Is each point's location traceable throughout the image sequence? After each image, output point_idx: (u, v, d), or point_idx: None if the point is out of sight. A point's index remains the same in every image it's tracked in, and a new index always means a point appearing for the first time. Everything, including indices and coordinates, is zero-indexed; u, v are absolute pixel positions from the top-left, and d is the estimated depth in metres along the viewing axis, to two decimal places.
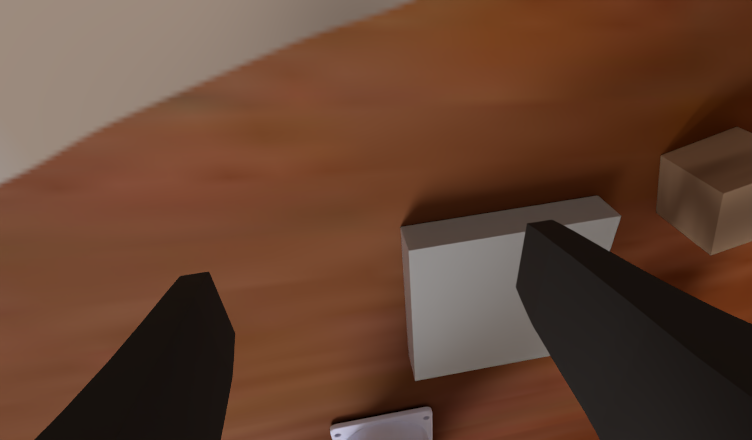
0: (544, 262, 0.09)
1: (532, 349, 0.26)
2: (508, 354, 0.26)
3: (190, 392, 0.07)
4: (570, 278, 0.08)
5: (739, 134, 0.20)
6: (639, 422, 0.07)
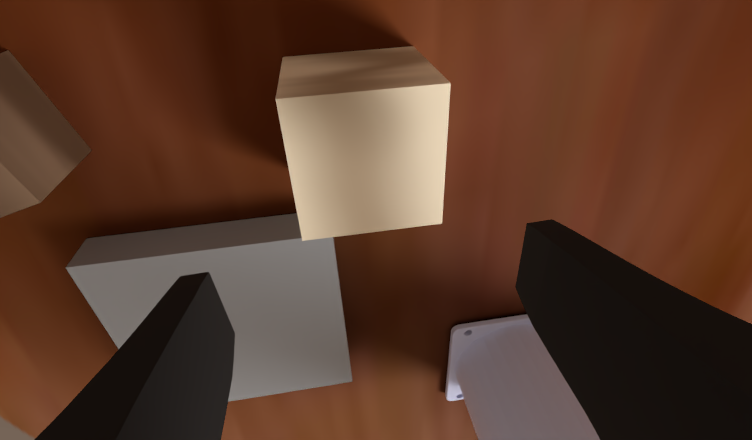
0: (544, 262, 0.09)
1: (317, 290, 0.19)
2: (323, 313, 0.20)
3: (190, 391, 0.07)
4: (570, 278, 0.08)
5: None
6: (639, 422, 0.07)
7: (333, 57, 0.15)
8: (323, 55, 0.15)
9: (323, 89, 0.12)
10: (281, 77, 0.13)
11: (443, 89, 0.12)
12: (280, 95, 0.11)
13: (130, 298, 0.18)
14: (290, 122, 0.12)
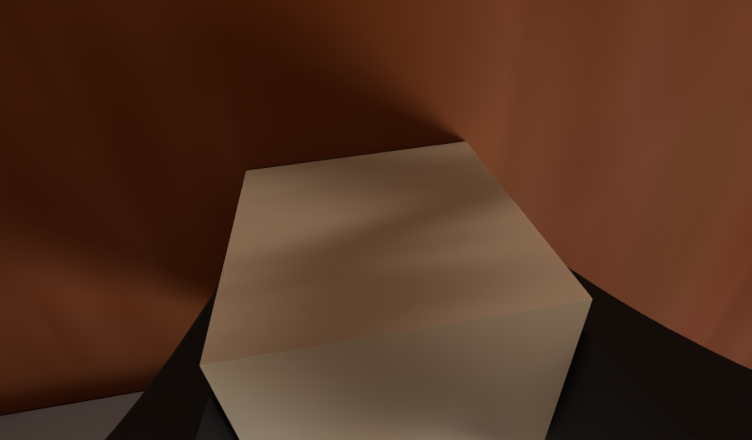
0: None
1: None
2: None
3: None
4: None
5: None
6: (579, 434, 0.06)
7: (332, 177, 0.08)
8: (315, 169, 0.09)
9: (311, 315, 0.05)
10: (231, 252, 0.07)
11: (574, 309, 0.05)
12: (214, 344, 0.05)
13: None
14: (240, 395, 0.05)
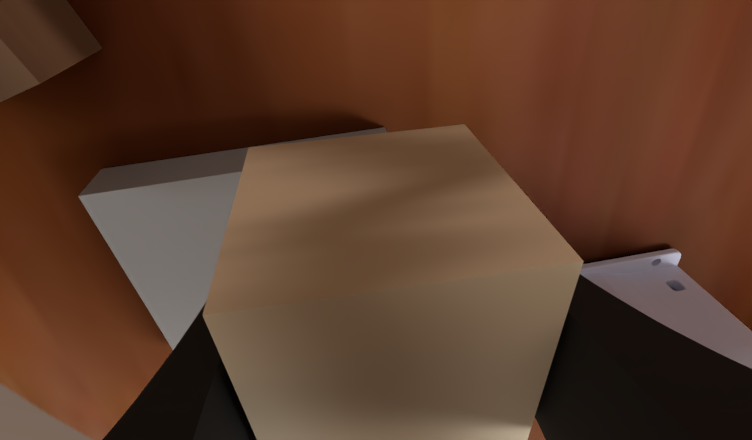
0: None
1: None
2: None
3: None
4: None
5: None
6: (580, 434, 0.06)
7: (333, 154, 0.09)
8: (316, 147, 0.09)
9: (311, 273, 0.06)
10: (233, 218, 0.07)
11: (566, 271, 0.06)
12: (217, 297, 0.05)
13: (155, 236, 0.15)
14: (241, 348, 0.05)
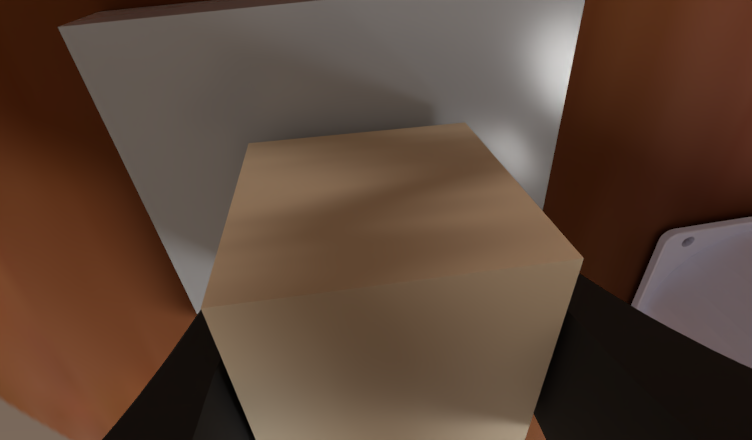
0: None
1: (523, 121, 0.11)
2: (517, 175, 0.12)
3: None
4: None
5: None
6: (581, 433, 0.06)
7: (333, 150, 0.09)
8: (316, 144, 0.09)
9: (310, 268, 0.06)
10: (232, 212, 0.07)
11: (566, 268, 0.06)
12: (215, 291, 0.05)
13: (187, 119, 0.09)
14: (239, 342, 0.05)
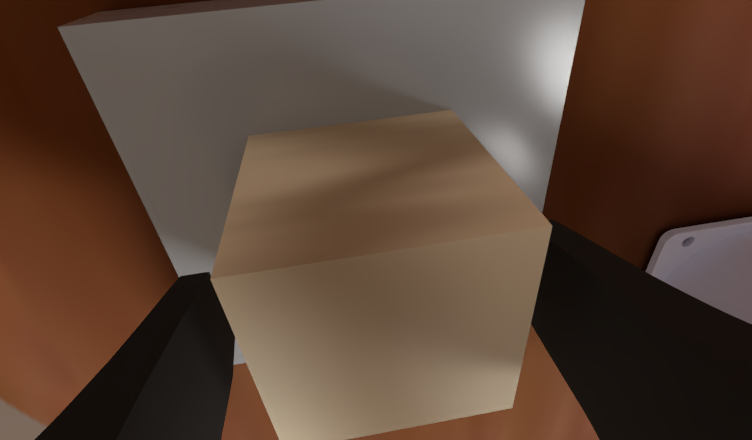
0: (544, 262, 0.09)
1: (523, 121, 0.11)
2: (517, 175, 0.11)
3: (190, 391, 0.07)
4: (570, 278, 0.08)
5: None
6: (639, 422, 0.07)
7: (328, 139, 0.09)
8: (312, 134, 0.09)
9: (306, 242, 0.06)
10: (236, 198, 0.07)
11: (537, 236, 0.06)
12: (222, 264, 0.06)
13: (187, 120, 0.09)
14: (245, 310, 0.06)
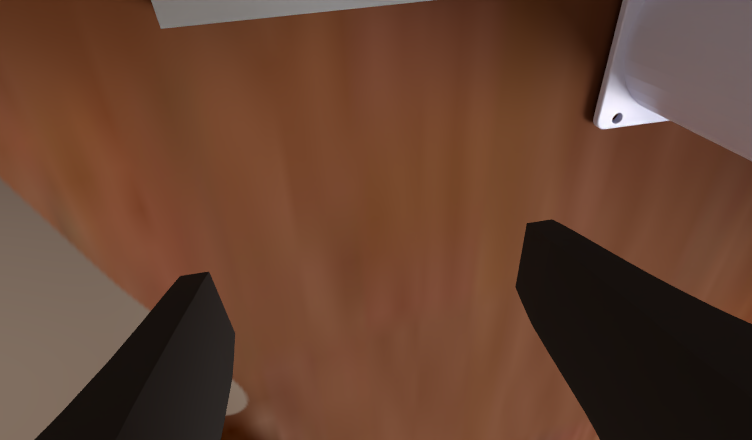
0: (544, 262, 0.09)
1: None
2: None
3: (190, 391, 0.07)
4: (570, 278, 0.08)
5: None
6: (639, 422, 0.07)
7: None
8: None
9: None
10: None
11: None
12: None
13: None
14: None
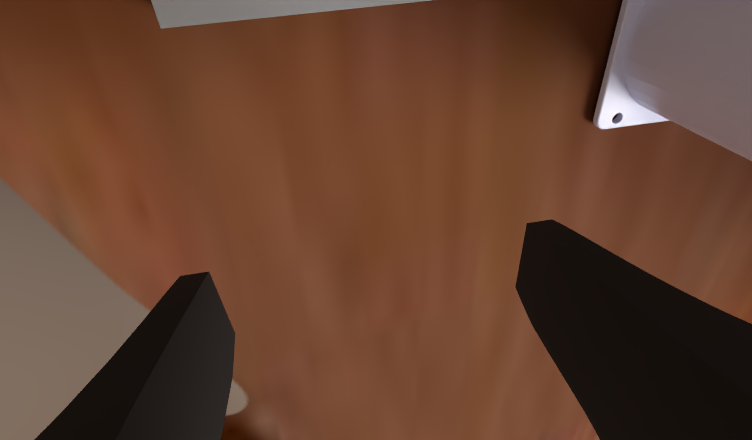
0: (544, 262, 0.09)
1: None
2: None
3: (190, 391, 0.07)
4: (570, 278, 0.08)
5: None
6: (639, 422, 0.07)
7: None
8: None
9: None
10: None
11: None
12: None
13: None
14: None
